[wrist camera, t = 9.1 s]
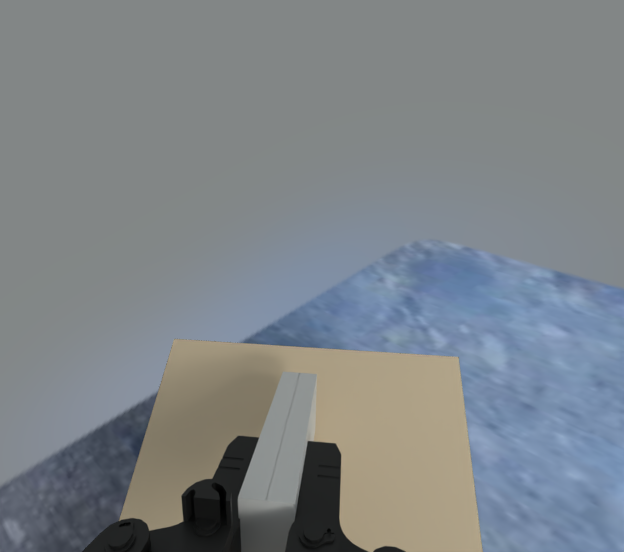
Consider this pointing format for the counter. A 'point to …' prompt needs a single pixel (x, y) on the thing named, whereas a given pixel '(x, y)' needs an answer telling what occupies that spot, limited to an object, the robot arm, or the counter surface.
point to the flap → (322, 437)
